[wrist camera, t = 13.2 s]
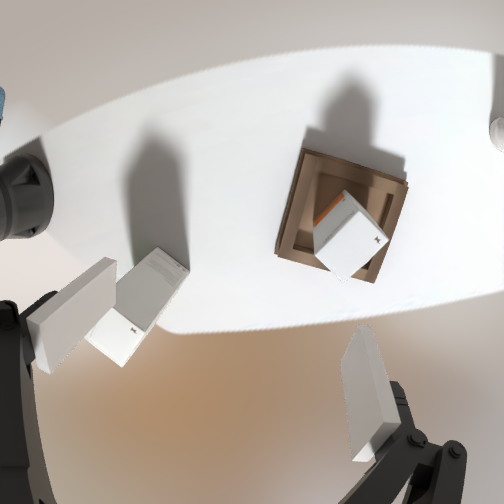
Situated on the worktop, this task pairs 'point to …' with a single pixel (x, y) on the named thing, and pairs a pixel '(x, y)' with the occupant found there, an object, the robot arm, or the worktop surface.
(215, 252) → the worktop surface
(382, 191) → the brown square tray
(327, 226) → the skincare box
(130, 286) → the skincare box
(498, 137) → the bottle
